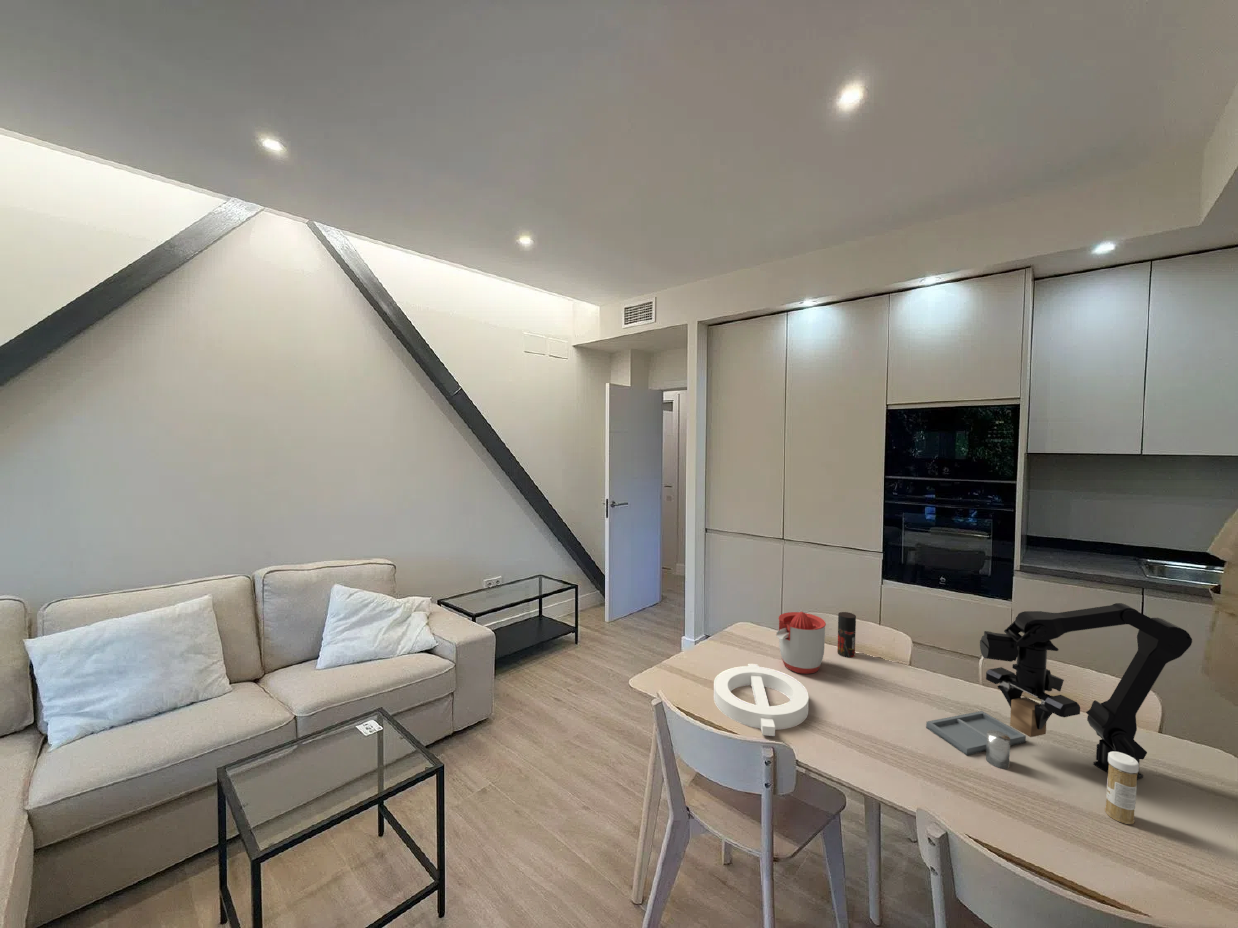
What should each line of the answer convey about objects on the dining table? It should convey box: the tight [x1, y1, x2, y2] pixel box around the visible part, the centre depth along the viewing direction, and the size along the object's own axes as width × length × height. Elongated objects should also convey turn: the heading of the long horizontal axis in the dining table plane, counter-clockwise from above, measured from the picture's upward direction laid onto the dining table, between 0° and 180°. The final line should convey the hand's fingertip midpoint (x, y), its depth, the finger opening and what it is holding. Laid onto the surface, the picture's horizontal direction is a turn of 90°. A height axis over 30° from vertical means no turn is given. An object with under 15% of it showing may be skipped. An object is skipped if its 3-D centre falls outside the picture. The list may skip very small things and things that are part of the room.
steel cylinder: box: [985, 730, 1011, 770], centre depth 121 cm, size 5×5×7 cm
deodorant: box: [837, 611, 857, 659], centre depth 180 cm, size 6×6×15 cm
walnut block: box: [1009, 696, 1047, 738], centre depth 123 cm, size 5×5×7 cm
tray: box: [925, 710, 1027, 756], centre depth 132 cm, size 12×20×2 cm, turn 104°
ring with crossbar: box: [713, 663, 810, 737], centre depth 149 cm, size 28×28×5 cm
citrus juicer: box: [775, 611, 827, 674], centre depth 170 cm, size 16×17×20 cm
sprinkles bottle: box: [1104, 751, 1140, 825], centre depth 103 cm, size 5×5×13 cm
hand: (1028, 722), depth 123 cm, fingers closed on walnut block, 5 cm apart
